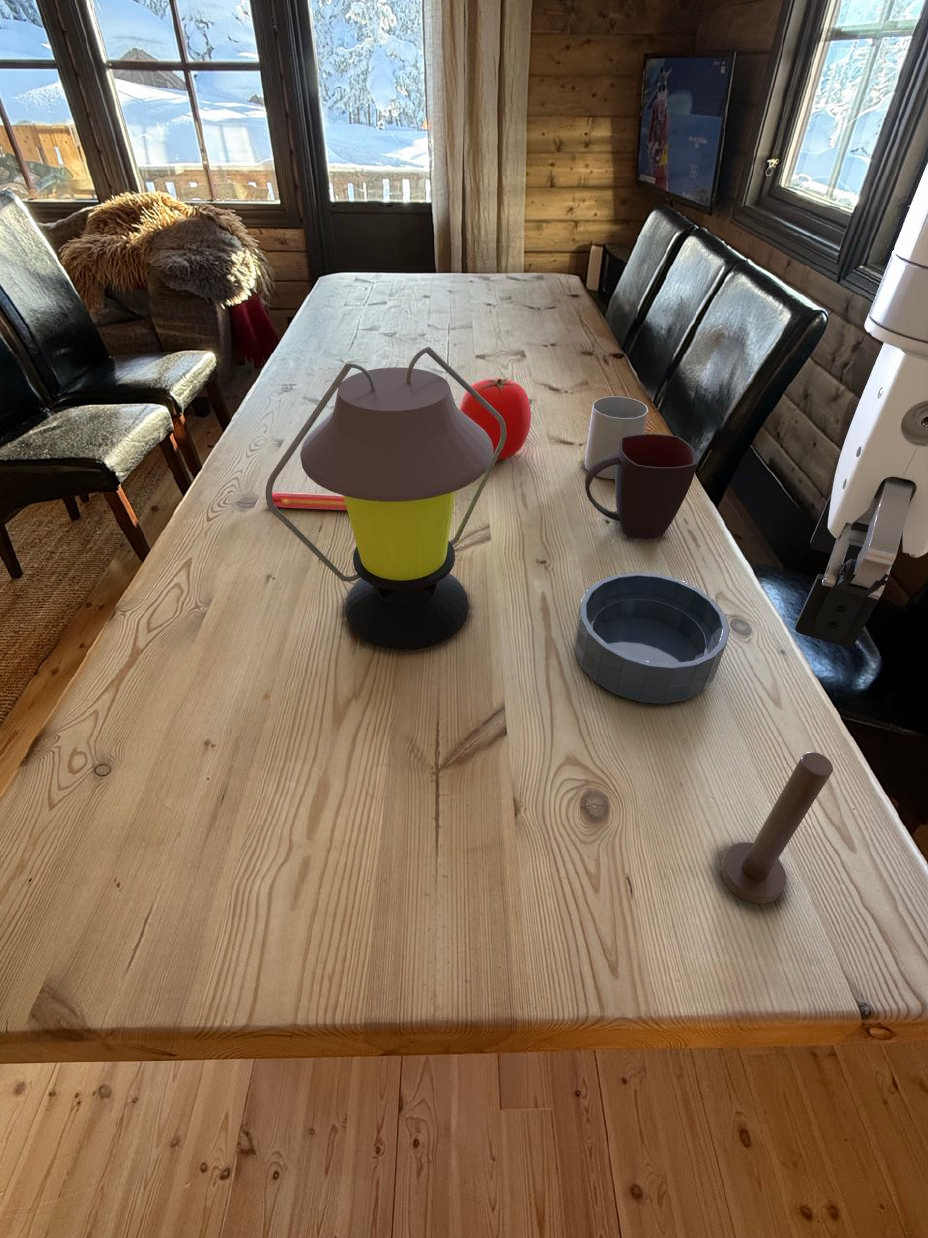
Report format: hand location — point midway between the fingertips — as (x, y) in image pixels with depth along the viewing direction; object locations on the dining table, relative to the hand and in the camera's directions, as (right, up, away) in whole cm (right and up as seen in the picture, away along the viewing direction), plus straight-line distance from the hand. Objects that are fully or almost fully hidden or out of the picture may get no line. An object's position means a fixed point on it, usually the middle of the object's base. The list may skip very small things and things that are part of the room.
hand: (828, 591), depth 42 cm
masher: (0, -23, +12) cm, 26 cm away
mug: (0, +11, +51) cm, 53 cm away
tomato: (-18, +26, +68) cm, 75 cm away
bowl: (-3, -6, +32) cm, 32 cm away
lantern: (-30, -1, +38) cm, 48 cm away
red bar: (-40, +14, +55) cm, 69 cm away
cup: (+1, +23, +65) cm, 69 cm away
